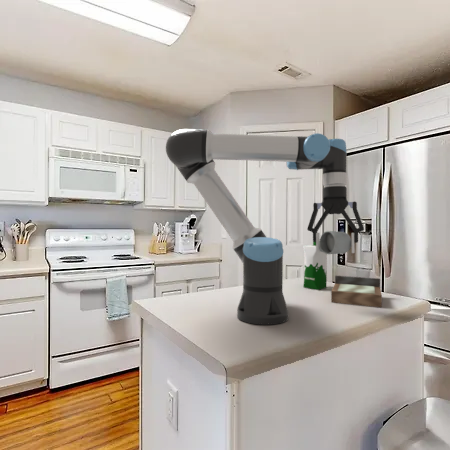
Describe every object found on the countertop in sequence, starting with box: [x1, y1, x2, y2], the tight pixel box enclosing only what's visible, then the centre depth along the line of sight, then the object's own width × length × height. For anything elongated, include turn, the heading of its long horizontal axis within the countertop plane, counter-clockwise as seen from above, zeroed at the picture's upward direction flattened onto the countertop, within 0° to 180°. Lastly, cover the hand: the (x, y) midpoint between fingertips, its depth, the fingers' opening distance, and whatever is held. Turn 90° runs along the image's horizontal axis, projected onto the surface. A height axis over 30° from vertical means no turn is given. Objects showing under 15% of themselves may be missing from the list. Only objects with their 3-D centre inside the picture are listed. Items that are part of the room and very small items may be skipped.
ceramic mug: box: [320, 230, 352, 255], centre depth 110 cm, size 11×8×8 cm
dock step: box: [330, 275, 383, 308], centre depth 118 cm, size 16×16×7 cm
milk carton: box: [302, 241, 328, 291], centre depth 138 cm, size 9×9×20 cm
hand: (335, 252), depth 108 cm, fingers closed on ceramic mug, 11 cm apart
